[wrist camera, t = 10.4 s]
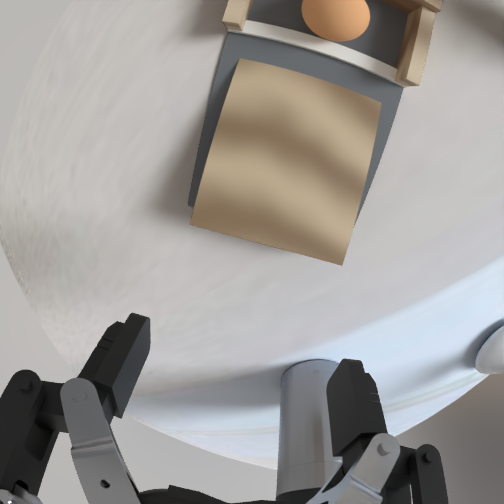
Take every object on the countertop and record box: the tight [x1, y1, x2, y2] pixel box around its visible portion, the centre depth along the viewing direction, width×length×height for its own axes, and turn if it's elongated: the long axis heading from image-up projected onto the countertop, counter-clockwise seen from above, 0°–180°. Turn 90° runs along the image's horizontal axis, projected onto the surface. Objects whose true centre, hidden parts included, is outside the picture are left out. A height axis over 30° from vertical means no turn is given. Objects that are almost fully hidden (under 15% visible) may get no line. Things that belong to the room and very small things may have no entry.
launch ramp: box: [190, 58, 382, 265], centre depth 21 cm, size 14×12×6 cm
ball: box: [301, 0, 370, 42], centre depth 14 cm, size 5×5×5 cm
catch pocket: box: [222, 0, 443, 86], centre depth 14 cm, size 9×15×4 cm, turn 76°
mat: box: [188, 0, 408, 225], centre depth 19 cm, size 25×15×1 cm, turn 166°
